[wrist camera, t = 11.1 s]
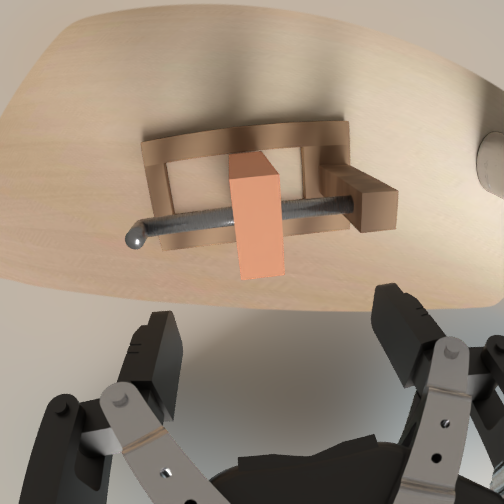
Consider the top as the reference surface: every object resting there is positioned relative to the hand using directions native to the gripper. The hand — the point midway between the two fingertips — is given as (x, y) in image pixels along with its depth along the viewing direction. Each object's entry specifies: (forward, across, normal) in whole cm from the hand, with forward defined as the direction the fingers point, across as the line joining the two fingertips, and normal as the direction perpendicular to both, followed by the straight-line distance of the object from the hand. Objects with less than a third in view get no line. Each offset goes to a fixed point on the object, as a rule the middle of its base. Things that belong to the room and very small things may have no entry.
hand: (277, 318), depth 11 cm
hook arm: (+13, +1, 0) cm, 13 cm away
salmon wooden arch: (+19, 0, 0) cm, 19 cm away
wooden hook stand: (+22, 0, 0) cm, 22 cm away
